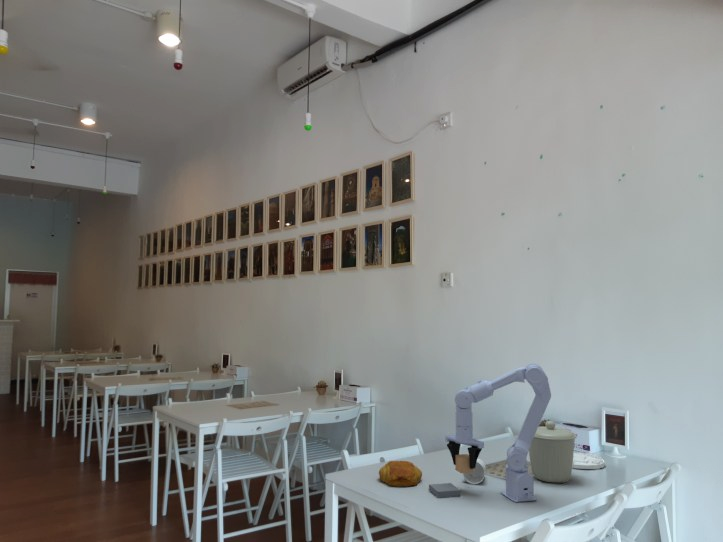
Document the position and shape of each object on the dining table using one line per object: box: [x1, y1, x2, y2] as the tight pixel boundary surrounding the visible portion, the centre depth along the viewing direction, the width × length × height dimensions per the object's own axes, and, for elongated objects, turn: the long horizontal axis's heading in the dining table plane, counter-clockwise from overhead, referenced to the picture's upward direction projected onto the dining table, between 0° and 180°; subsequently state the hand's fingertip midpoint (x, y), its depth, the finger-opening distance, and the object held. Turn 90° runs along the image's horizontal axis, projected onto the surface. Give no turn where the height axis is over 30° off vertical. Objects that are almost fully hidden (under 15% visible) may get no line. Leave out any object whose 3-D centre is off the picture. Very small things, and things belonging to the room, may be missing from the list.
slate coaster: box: [428, 482, 462, 499], centre depth 182 cm, size 8×8×2 cm
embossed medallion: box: [572, 451, 606, 471], centre depth 222 cm, size 20×20×3 cm
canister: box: [528, 420, 577, 484], centre depth 201 cm, size 18×18×21 cm
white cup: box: [462, 457, 487, 485], centre depth 198 cm, size 8×8×10 cm
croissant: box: [378, 460, 423, 487], centre depth 195 cm, size 14×16×8 cm
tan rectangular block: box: [454, 453, 473, 474], centre depth 185 cm, size 4×4×5 cm
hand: (464, 466), depth 185 cm, fingers closed on tan rectangular block, 6 cm apart
